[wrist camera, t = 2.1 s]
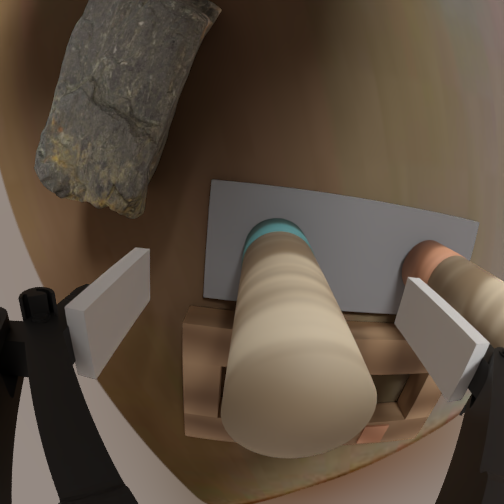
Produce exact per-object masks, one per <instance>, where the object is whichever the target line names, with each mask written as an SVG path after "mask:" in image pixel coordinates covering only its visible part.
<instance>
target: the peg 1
mask: <svg viewBox="0 0 504 504" xmlns="http://www.w3.org/2000/svg"><path fill="white" fill-rule="evenodd" d="M376 404H377V392H376V388H375V385H374V382H373V380H372V378H371V376H370V373H369V371H368V369H367V366H366V364H365V362H364V360H363V357H362V355H361V353H360V351H359V348H358V346H357V344H356V342H355V340H354V337H353V335H352V333H351V331H350V329H349V327H348V324H347V322H346V320H345V318H344V316H343V314H342V312H341V309H340V307H339V305H338V303H337V301H336V299H335V297H334V295H333V293H332V291H331V289H330V287H329V284H328V282H327V280H326V278H325V276H324V274H323V272H322V270H321V268H320V266H319V264H318V262H317V260H316V258H315V256H314V252H313V250H312V248H311V246H310V244H309V242H308V241H307V239H306V237H305V235H304V233H303V232H302V230H301V229H300V228H299V227H298V226H297V225H296V224H294V223H293V222H291V221H289V220H286V219H282V218H271V219H267V220H264V221H262V222H260V223H258V224H257V225H256V226H254V227H253V228H252V230H251V231H250V232H249V234H248V236H247V238H246V241H245V245H244V251H243V257H242V270H241V276H240V283H239V290H238V296H237V303H236V310H235V316H234V323H233V330H232V337H231V343H230V350H229V357H228V364H227V371H226V378H225V384H224V391H223V398H222V405H221V419H222V423H223V426H224V428H225V430H226V431H227V433H228V434H229V435H230V436H231V438H232V439H233V440H234V441H236V442H237V443H238V444H240V445H241V446H243V447H244V448H246V449H248V450H250V451H253V452H255V453H258V454H261V455H265V456H269V457H276V458H302V457H309V456H314V455H318V454H322V453H325V452H328V451H330V450H333V449H335V448H337V447H339V446H341V445H343V444H345V443H346V442H348V441H349V440H351V439H352V438H354V437H355V436H356V435H357V434H358V433H359V432H360V431H361V430H362V429H363V428H364V427H365V426H366V425H367V424H368V422H369V421H370V419H371V417H372V416H373V413H374V411H375V408H376Z"/></svg>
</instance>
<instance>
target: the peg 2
mask: <svg viewBox="0 0 504 504" xmlns="http://www.w3.org/2000/svg"><path fill="white" fill-rule="evenodd" d="M408 277H413V278H420V279H421V280H422V281H423V282H425V283H426V284H427V285H428V286H429V287H430V288H431V289H433V290H434V291H435V292H436V293H437V294H438V295H439V296H440V297H442V298H443V299H444V300H445V301H446V302H447V303H448V304H449V305H450V306H452V307H453V308H454V309H455V310H456V311H457V312H458V313H459V314H460V315H461V316H462V317H463V318H464V319H465V320H467V321H468V322H469V323H470V324H471V325H472V326H473V327H474V328H475V329H476V330H477V331H478V332H479V333H480V334H481V335H482V336H483V337H484V338H485V339H486V340H487V341H488V342H489V343H490V344H491V345H492V347H493V348H494V349H495V348H497V347H503V348H504V282H503V281H502V280H500V279H499V278H497V277H495V276H494V275H492V274H490V273H489V272H487V271H486V270H484V269H482V268H481V267H479V266H477V265H476V264H474V263H472V262H470V261H469V260H467V259H466V258H465V257H463V256H462V255H460V254H458V253H456V252H455V251H453V250H451V249H449V248H447V247H446V246H444V245H442V244H440V243H438V242H436V241H434V240H425V241H422V242H420V243H418V244H417V245H415V246H414V247H413V248H412V249H411V250H410V252H409V253H408V255H407V256H406V258H405V260H404V263H403V267H402V280H403V283H404V285H406V282H407V278H408Z"/></svg>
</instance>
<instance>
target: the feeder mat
mask: <svg viewBox="0 0 504 504" xmlns="http://www.w3.org/2000/svg"><path fill="white" fill-rule="evenodd" d="M271 218H282V219H286V220H289V221H291V222H293V223H294V224H296V225H297V226H298V227H299V228H300V229H301V230H302V232H303V233H304V235H305V237H306V239H307V241H308V242H309V244H310V246H311V248H312V250H313V252H314V256H315V258H316V260H317V262H318V264H319V266H320V268H321V270H322V272H323V274H324V276H325V278H326V280H327V282H328V284H329V287H330V289H331V291H332V293H333V295H334V297H335V299H336V301H337V303H338V305H339V307H340V309H341V311H350V312H366V313H382V314H397V313H398V309H399V306H400V303H401V299H402V296H403V293H404V289H405V285H404V283H403V280H402V267H403V263H404V260H405V258H406V256H407V255H408V253H409V252H410V250H411V249H412V248H413V247H414V246H415V245H417V244H418V243H420V242H422V241H425V240H434V241H436V242H438V243H440V244H442V245H444V246H446V247H447V248H449V249H451V250H453V251H455V252H456V253H458V254H460V255H462V256H463V257H465V258H466V259H467V260H469V261H470V259H471V255H472V251H473V247H474V243H475V239H476V235H477V231H478V226H479V222H477V221H473V220H468V219H464V218H460V217H455V216H451V215H446V214H442V213H437V212H432V211H427V210H423V209H418V208H412V207H407V206H402V205H397V204H391V203H386V202H380V201H375V200H369V199H363V198H357V197H351V196H344V195H338V194H331V193H325V192H318V191H311V190H303V189H296V188H288V187H280V186H272V185H263V184H255V183H245V182H236V181H225V180H215V179H212V181H211V192H210V204H209V217H208V230H207V244H206V259H205V276H204V294H203V297H206V298H214V299H222V300H231V301H237V296H238V290H239V283H240V276H241V270H242V257H243V251H244V245H245V241H246V238H247V236H248V234H249V232H250V231H251V230H252V228H253V227H254V226H256V225H257V224H258V223H260V222H262V221H264V220H267V219H271Z"/></svg>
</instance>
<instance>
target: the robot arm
mask: <svg viewBox="0 0 504 504" xmlns="http://www.w3.org/2000/svg"><path fill="white" fill-rule="evenodd" d="M149 301H150V249H146V248H138V247H135V248H134V249H133V250H132V251H130V252H129V253H128V254H127V255H125V256H124V257H123V258H122V259H120V260H119V261H118V262H117V263H115V264H114V265H113V266H112V267H111V268H109V269H108V270H107V271H106V272H105V273H103V274H102V275H101V276H100V277H99V278H97V279H96V280H95V281H94V282H93V283H92V284H90V285H89V284H85V285H83V286H81V287H78V288H76V289H75V290H74V291H73V292H71V293H70V295H68V296H67V297H65V299H63V300H62V301H61V302H60V303H58V304H57V305H56V299H55V293H54V291H53V290H52V289H49V288H45V287H35V288H31V289H28V290H26V291H24V292H22V294H20V296H19V302H20V308H21V312H22V317H23V321H9V318H8V313H7V311H6V309H4V308H2V307H0V504H11V503H12V499H11V491H12V490H11V488H12V483H11V482H12V462H13V448H14V438H15V428H16V421H17V413H18V407H19V401H20V395H21V389H22V384H23V379H24V377H29V382H30V388H31V394H32V400H33V406H34V410H35V416H36V420H37V425H38V429H39V433H40V437H41V441H42V445H43V448H44V452H45V456H46V459H47V463H48V466H49V469H50V472H51V475H52V479H53V481H54V484H55V487H56V490H57V493H58V496H59V498H60V503H59V504H138V502H137V501H136V499H135V497H134V496H133V494H132V492H131V491H130V489H129V488H128V487H127V486H126V485H125V484H124V482H123V480H122V479H121V477H120V475H119V473H118V471H117V469H116V468H115V466H114V464H113V462H112V460H111V458H110V456H109V454H108V452H107V450H106V448H105V446H104V443H103V441H102V439H101V437H100V435H99V432H98V430H97V428H96V426H95V423H94V421H93V419H92V417H91V414H90V411H89V409H88V407H87V404H86V402H85V399H84V396H83V394H82V391H81V388H80V385H79V383H78V380H77V377H76V374H75V372H74V368H73V364H74V362H75V364H76V368H77V372H78V374H79V375H82V376H85V377H89V378H92V379H97V378H98V376H99V375H100V373H101V371H102V370H103V368H104V367H105V365H106V364H107V362H108V361H109V359H110V358H111V356H112V355H113V353H114V352H115V350H116V349H117V347H118V346H119V344H120V343H121V341H122V340H123V338H124V337H125V335H126V334H127V333H128V331H129V330H130V328H131V327H132V325H133V324H134V322H135V321H136V319H137V318H138V317H139V315H140V314H141V312H142V311H143V309H144V308H145V307H146V305H147V304H148V302H149ZM394 324H395V325H396V327H397V328H398V329H399V331H400V332H401V334H402V335H403V336H404V338H405V339H406V341H407V342H408V344H409V345H410V346H411V348H412V349H413V351H414V352H415V354H416V355H417V357H418V358H419V360H420V361H421V362H422V364H423V365H424V367H425V368H426V370H427V371H428V373H429V374H430V376H431V377H432V379H433V380H434V382H435V383H436V385H437V386H438V388H439V390H440V391H441V393H442V394H443V396H444V397H445V399H446V400H447V402H452V401H459V400H461V399H462V398H463V396H464V394H465V392H466V391H467V389H469V390H470V391H471V393H472V394H471V396H470V398H469V399H468V401H467V403H466V405H465V406H464V408H463V410H462V411H461V413H460V414H459V415H462V414H463V413H465V414H464V418H463V422H462V427H461V430H460V434H459V437H458V441H457V444H456V448H455V451H454V454H453V457H452V460H451V463H450V466H449V469H448V472H447V475H446V478H445V480H444V483H443V486H442V488H441V491H440V493H439V496H438V498H437V500H436V503H435V504H504V348H503V347H497V348H495V349H494V348H493V347H492V345H491V344H490V343H489V342H488V341H487V340H486V339H485V338H484V337H483V336H482V335H481V334H480V333H479V332H478V331H477V330H476V329H475V328H474V327H473V326H472V325H471V324H470V323H469V322H468V321H467V320H465V319H464V318H463V317H462V316H461V315H460V314H459V313H458V312H457V311H456V310H455V309H454V308H453V307H452V306H450V305H449V304H448V303H447V302H446V301H445V300H444V299H443V298H442V297H440V296H439V295H438V294H437V293H436V292H435V291H434V290H433V289H431V288H430V287H429V286H428V285H427V284H426V283H425V282H423V281H422V280H421V279H420V278H413V277H408V278H407V282H406V285H405V289H404V293H403V296H402V299H401V303H400V306H399V309H398V313H397V316H396V319H395V322H394Z"/></svg>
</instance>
